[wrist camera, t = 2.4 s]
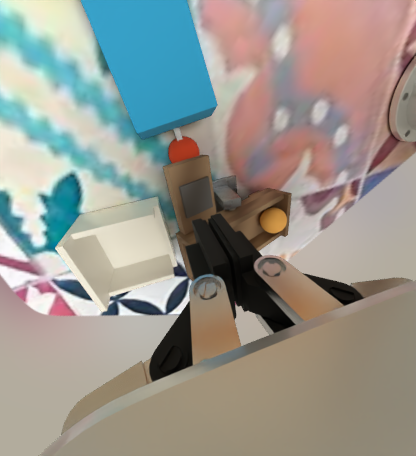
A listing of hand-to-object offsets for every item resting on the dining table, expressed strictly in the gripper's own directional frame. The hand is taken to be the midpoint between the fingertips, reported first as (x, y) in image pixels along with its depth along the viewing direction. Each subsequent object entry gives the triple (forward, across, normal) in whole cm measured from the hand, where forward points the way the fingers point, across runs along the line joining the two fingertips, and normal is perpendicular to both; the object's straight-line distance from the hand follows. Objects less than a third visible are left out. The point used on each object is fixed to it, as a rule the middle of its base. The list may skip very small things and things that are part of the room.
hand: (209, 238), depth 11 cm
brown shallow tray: (+11, -4, +3) cm, 12 cm away
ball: (+9, -10, +6) cm, 15 cm away
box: (+15, +8, +6) cm, 18 cm away
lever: (+15, 0, -10) cm, 18 cm away
